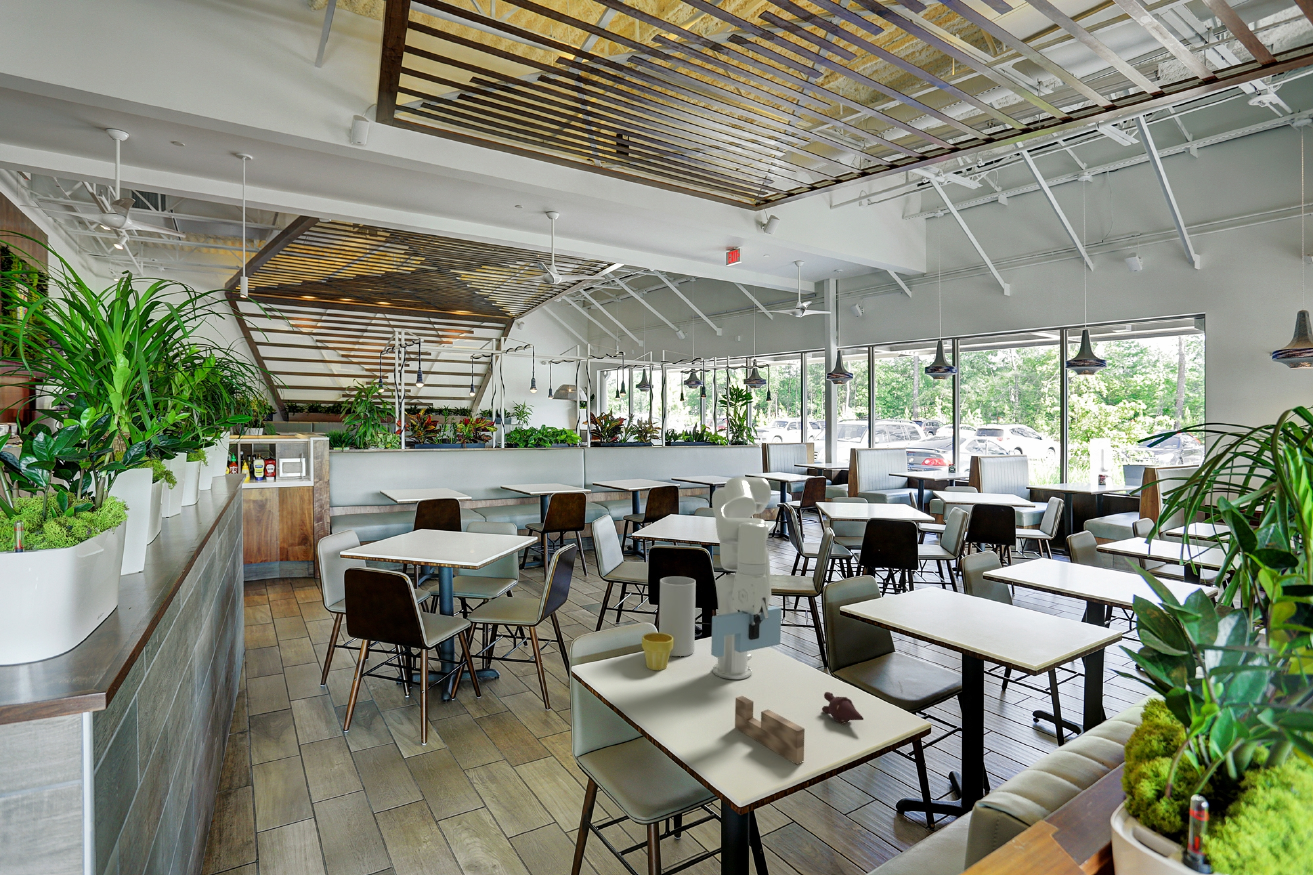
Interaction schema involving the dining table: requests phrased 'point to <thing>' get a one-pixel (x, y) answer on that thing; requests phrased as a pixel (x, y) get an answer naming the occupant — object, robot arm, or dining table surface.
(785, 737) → the walnut board
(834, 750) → the dining table surface
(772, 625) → the slotted plate
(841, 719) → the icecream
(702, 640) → the dining table surface
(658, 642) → the plant pot
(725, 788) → the dining table surface
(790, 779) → the dining table surface
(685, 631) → the cylinder vase
